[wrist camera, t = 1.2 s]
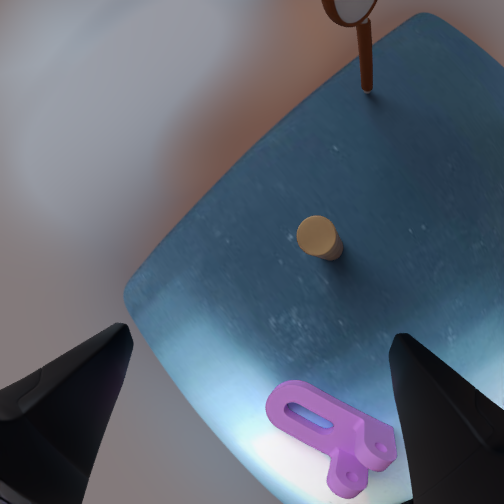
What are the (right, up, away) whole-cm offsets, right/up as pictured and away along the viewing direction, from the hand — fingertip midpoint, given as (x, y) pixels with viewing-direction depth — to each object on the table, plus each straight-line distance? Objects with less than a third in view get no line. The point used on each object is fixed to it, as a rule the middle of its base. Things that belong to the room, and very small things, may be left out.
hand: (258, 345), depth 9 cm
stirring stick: (+7, +3, +17) cm, 19 cm away
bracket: (+7, -14, +16) cm, 23 cm away
